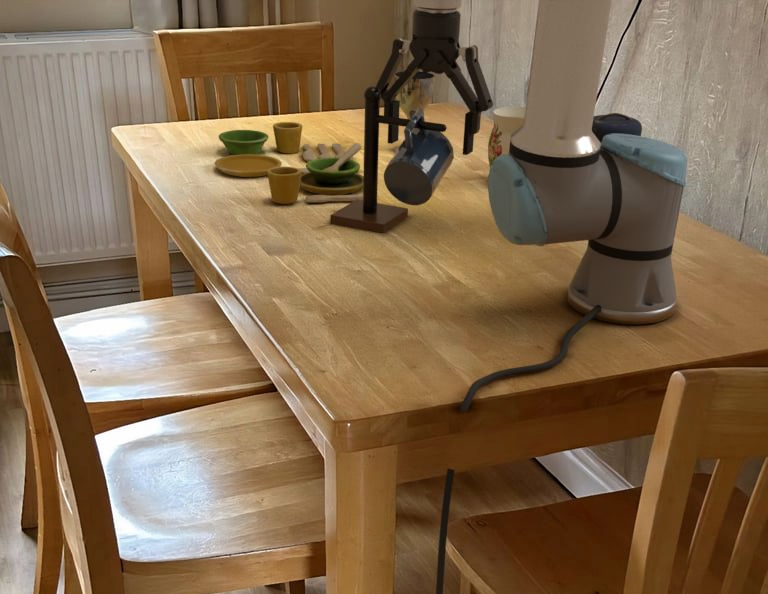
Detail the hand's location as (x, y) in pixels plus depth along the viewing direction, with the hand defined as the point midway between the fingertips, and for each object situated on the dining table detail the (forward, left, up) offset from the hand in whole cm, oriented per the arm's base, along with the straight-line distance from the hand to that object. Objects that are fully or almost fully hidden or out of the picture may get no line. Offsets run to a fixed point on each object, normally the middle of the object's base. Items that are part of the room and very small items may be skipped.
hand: (429, 147), depth 177 cm
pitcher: (+28, -6, -12) cm, 31 cm away
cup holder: (-6, +4, -12) cm, 14 cm away
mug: (-10, 0, -2) cm, 10 cm away
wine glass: (+39, +20, -12) cm, 45 cm away
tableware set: (+11, +34, -12) cm, 37 cm away
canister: (+15, -27, -12) cm, 33 cm away
